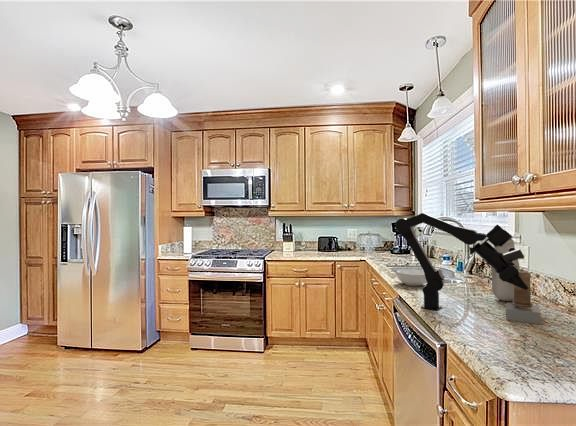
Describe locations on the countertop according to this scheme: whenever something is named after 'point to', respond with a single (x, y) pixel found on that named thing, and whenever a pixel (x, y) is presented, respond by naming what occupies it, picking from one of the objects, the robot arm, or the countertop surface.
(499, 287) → the grey bottle
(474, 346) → the countertop surface
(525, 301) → the pepper mill
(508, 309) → the slate block
